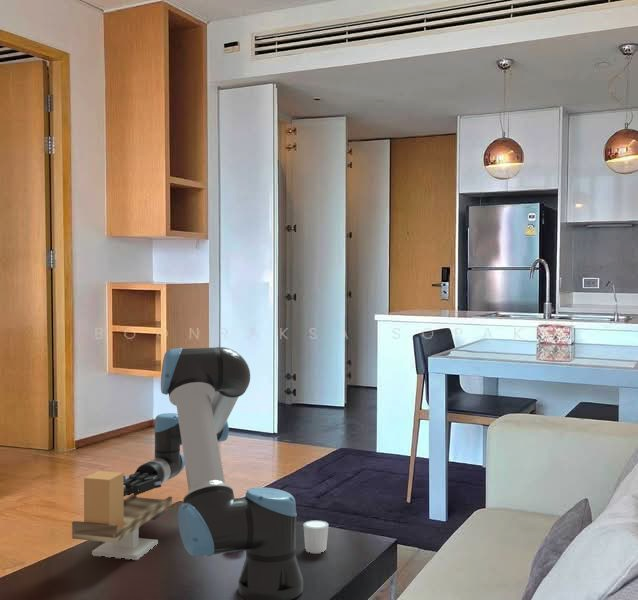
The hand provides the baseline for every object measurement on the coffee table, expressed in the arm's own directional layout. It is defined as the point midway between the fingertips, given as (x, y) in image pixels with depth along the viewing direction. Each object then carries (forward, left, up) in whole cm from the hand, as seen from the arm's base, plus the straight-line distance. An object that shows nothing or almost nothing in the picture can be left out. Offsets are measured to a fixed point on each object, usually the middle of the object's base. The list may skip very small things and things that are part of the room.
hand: (110, 497), depth 187 cm
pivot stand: (+8, 0, -16) cm, 18 cm away
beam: (+8, 0, -11) cm, 14 cm away
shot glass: (+21, -50, -17) cm, 56 cm away
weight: (-4, 0, -7) cm, 8 cm away
